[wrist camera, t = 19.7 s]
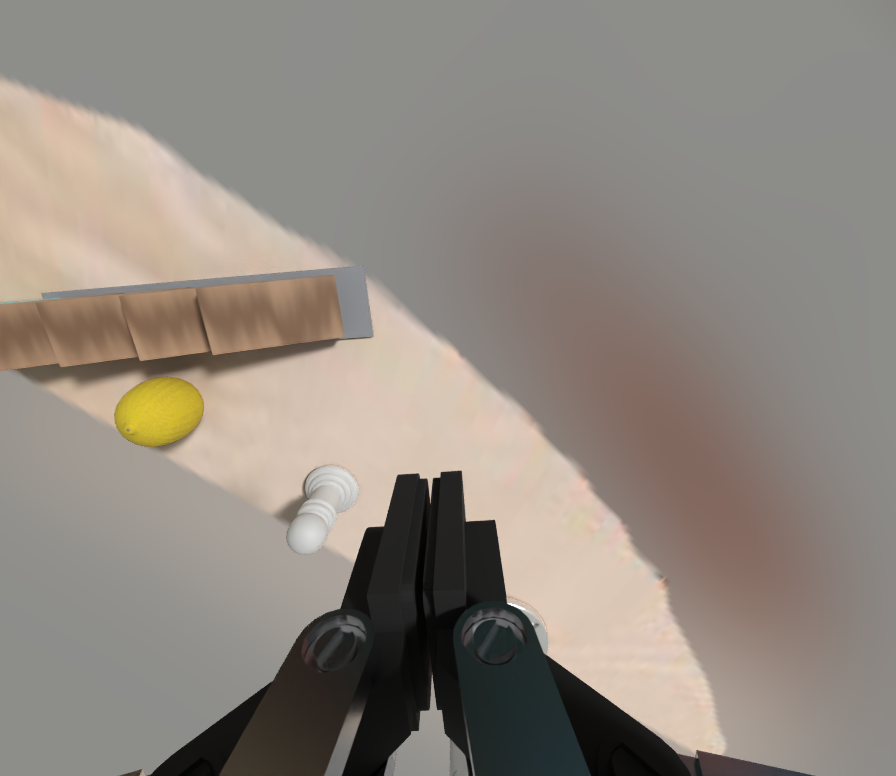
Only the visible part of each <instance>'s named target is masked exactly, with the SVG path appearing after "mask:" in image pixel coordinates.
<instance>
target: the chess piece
mask: <svg viewBox="0 0 896 776" xmlns="http://www.w3.org/2000/svg"><path fill="white" fill-rule="evenodd" d="M305 492H306V496H307V498H308V500H307V501H306V502H305V503H303V505H302V506H301V508H300V510H299V511H298V513H297V516H296V518H295V519H294V520H293V521H292V523H291V524H290V526H289V528H288V531H287V543H288V545H289V547H290V548H291V549H292V550H293V551H294V552H295V553H298V554H301V555H310V554H313V553H315V552H317V551H318V550H319V549H320V548H321V547H322V546H323V545H324V543H325V541H326V539H327V535H328V533H329V532H330V531H331V530H332V528H333V526H334V523H335V521H336V518H337V513H340V512H344V511H346V510H348V509H349V508H350V507H352V506H353V505H354V503H355V502H356V500H357V498H358V494H359V488H358V483H357V481H356V479H355V477H354V476H353V475H352V474H351V473H350V472H349V471H348V470H346V469H344V468H342V467H339V466H335V465H325V466H321V467H319V468H317V469H315V470H314V471H313V472H311V473H310V475H309V476H308V478H307V480H306V484H305Z"/></svg>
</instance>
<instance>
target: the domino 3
mask: <svg viewBox="0 0 896 776" xmlns="http://www.w3.org/2000/svg"><path fill="white" fill-rule="evenodd" d="M257 282H262V281H257ZM247 283H251V282H247ZM237 284H241V283H237ZM226 285H230V284H226ZM216 286H219V285H216ZM206 287H208V286H206ZM196 288H200V287H196ZM196 288H186V289H176V290H166V291H155V292H145V293H135V294H127V295H121V296H119V299H120V302H121V305H122V308H123V311H124V314H125V317H126V320H127V323H128V326H129V329H130V332H131V335H132V338H133V341H134V344H135V347H136V350H137V353H138V356H139V359H140V361H144V360H152V359H159V358H166V357H174V356H181V355H188V354H196V353H203V352H210V351H211V347H210V343H209V339H208V336H207V332H206V328H205V324H204V320H203V317H202V313H201V309H200V305H199V302H198V298H197V294H196V290H195V289H196Z"/></svg>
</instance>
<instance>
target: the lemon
mask: <svg viewBox="0 0 896 776" xmlns="http://www.w3.org/2000/svg"><path fill="white" fill-rule="evenodd" d="M203 411H204V402H203V399H202V396H201V394H200V393H199V391H198V390H197V389H196V388H195V387H194V386H193V385H192V384H190V383H189V382H187V381H184V380H182V379H179V378H173V377H160V378H154V379H151V380H148V381H145V382H143V383H140V384H138V385H137V386H135V387H134V388H132V389H131V390H130V391H129V392H127V393H126V394H125V395H124V396H123V397H122V398H121V400H120V401H119V403H118V404H117V406H116V410H115V414H114V416H115V424H116V427H117V429H118V431H119V432H120V433H121V435H122V436H123V437H125V438H126V439H127V440H128V441H130V442H132V443H134V444H137V445H141V446H146V447H157V446H162V445H166V444H170V443H173V442H175V441H177V440H179V439H181V438H183V437H185V436H186V435H188V434H189V433H190V432H191V431H192V430H193V429H194V428H195V427H196V426H197V425H198V423H199V422H200V420H201V418H202V416H203Z"/></svg>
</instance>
